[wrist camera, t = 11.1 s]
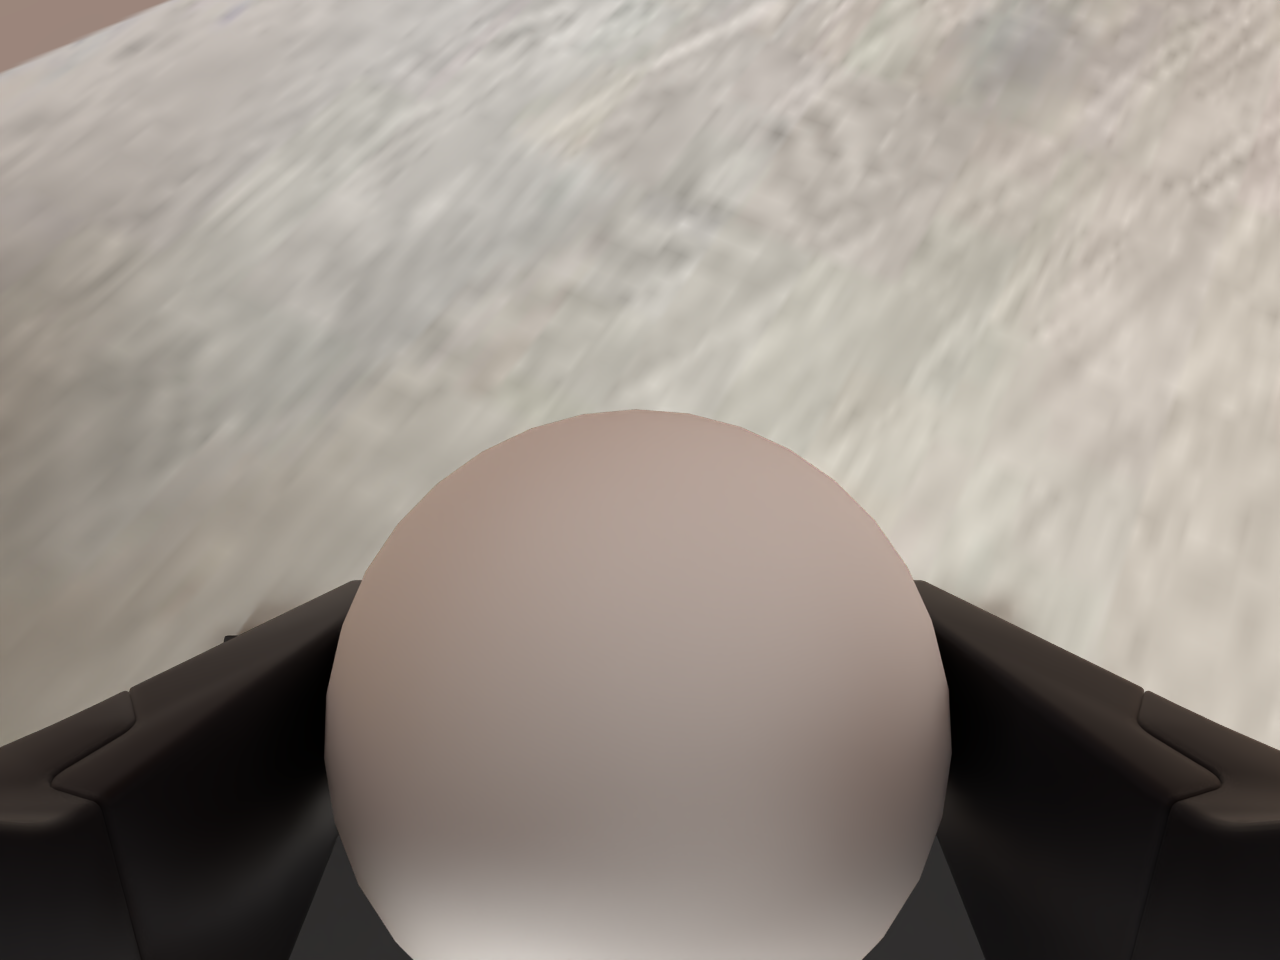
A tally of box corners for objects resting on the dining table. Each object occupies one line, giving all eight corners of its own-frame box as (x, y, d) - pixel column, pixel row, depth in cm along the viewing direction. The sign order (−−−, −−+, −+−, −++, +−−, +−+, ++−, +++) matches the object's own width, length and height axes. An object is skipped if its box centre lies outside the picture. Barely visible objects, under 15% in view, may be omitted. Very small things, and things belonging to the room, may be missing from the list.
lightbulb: (679, 563, 18) (726, 174, 8) (875, 832, 16) (1255, 748, 6) (411, 739, 17) (75, 527, 7) (589, 1057, 15) (483, 1416, 5)
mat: (1101, 1320, 18) (1113, 1332, 18) (111, 1325, 18) (97, 1337, 18) (992, 637, 24) (999, 632, 24) (232, 639, 24) (224, 634, 23)
